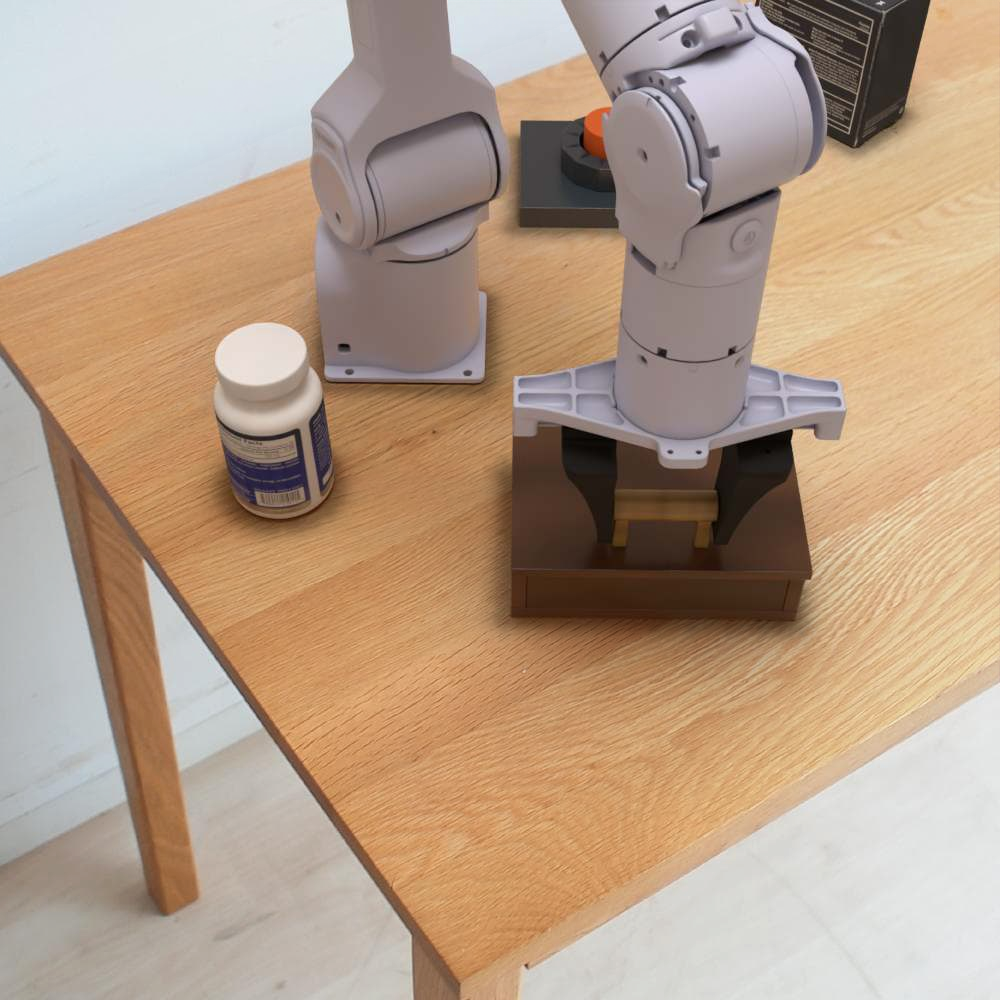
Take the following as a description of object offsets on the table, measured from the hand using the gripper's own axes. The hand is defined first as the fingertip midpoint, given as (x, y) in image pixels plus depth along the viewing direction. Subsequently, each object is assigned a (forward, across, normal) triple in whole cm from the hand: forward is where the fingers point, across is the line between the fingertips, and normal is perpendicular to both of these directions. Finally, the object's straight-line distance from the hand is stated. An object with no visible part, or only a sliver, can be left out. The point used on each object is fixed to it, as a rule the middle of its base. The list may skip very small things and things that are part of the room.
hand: (660, 528), depth 70 cm
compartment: (+6, 0, +4) cm, 7 cm away
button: (+3, -1, +36) cm, 36 cm away
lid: (+2, 0, +4) cm, 4 cm away
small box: (+6, +15, +46) cm, 49 cm away
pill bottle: (+6, -20, +8) cm, 22 cm away
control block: (+6, -1, +36) cm, 37 cm away
